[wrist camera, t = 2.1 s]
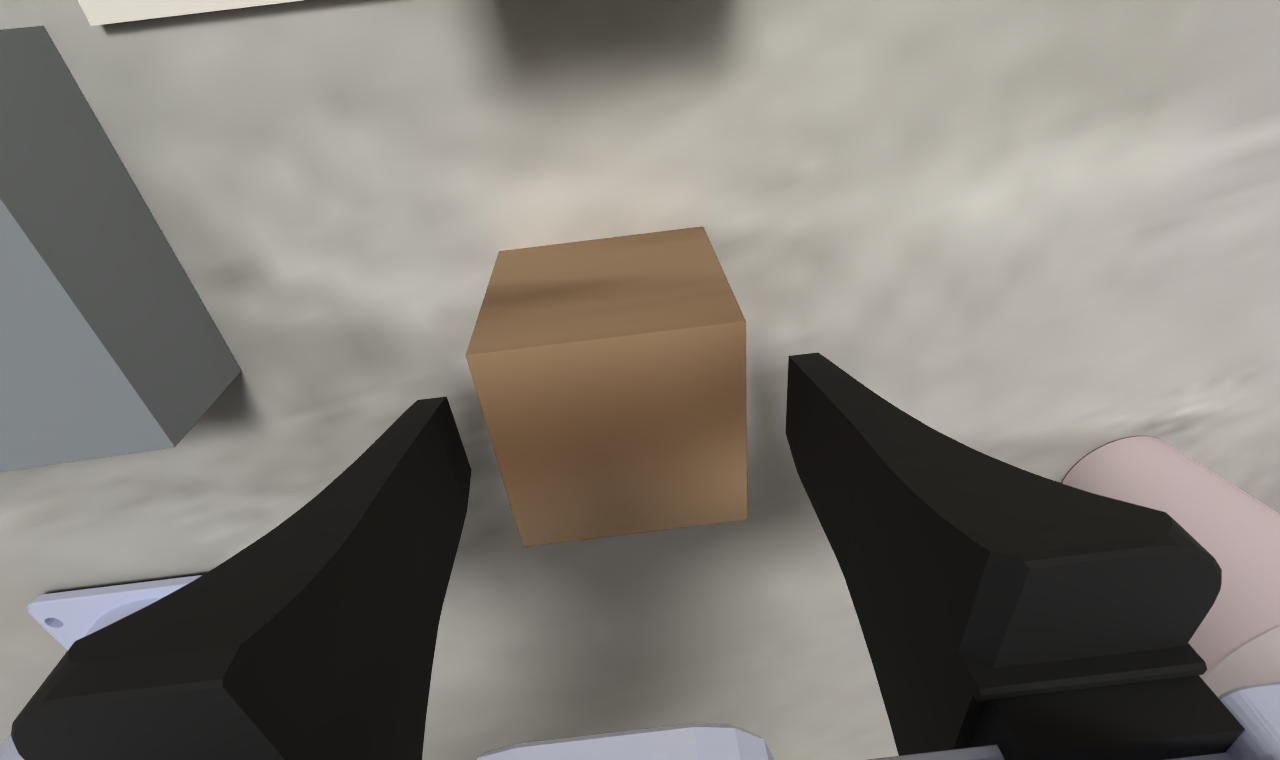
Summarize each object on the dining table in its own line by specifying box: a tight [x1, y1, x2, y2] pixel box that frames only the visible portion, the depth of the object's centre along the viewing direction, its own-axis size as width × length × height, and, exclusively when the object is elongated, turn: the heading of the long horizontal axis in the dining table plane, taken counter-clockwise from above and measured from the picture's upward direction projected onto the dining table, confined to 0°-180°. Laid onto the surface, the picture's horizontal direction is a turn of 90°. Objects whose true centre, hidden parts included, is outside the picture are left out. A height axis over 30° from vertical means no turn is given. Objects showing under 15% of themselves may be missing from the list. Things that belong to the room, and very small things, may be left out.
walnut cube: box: [466, 227, 747, 547], centre depth 14 cm, size 5×5×5 cm
